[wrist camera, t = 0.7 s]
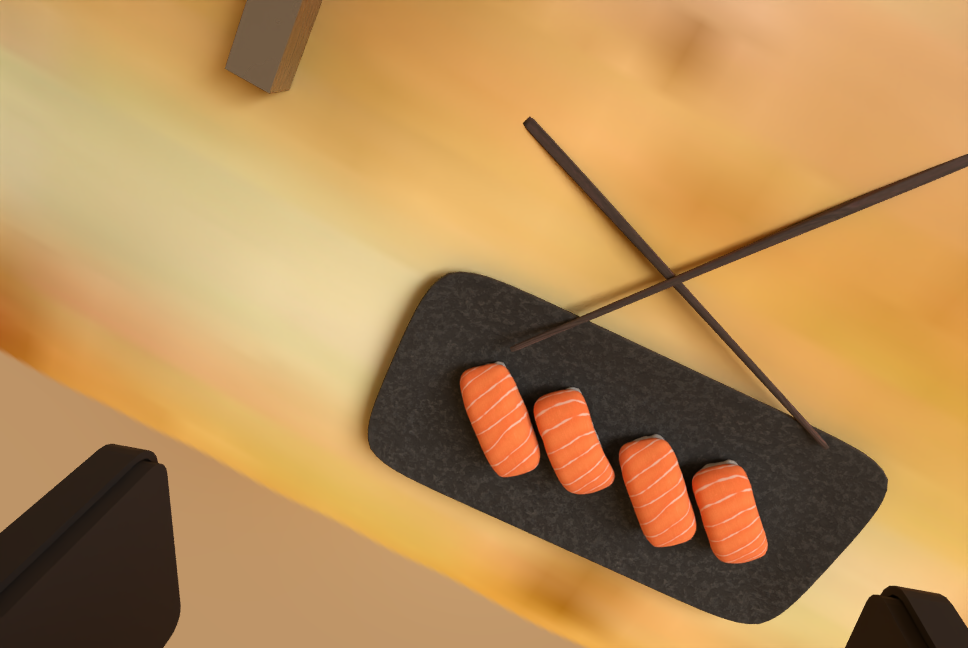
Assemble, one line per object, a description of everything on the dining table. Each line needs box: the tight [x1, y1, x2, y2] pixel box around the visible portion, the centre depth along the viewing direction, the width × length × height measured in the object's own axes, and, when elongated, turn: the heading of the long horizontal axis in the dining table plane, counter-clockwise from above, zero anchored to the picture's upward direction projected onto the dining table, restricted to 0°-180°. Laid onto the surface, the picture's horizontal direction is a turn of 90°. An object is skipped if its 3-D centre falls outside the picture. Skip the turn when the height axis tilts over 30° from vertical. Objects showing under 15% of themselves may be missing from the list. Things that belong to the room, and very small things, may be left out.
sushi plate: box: [368, 117, 968, 624], centre depth 36 cm, size 29×30×4 cm
